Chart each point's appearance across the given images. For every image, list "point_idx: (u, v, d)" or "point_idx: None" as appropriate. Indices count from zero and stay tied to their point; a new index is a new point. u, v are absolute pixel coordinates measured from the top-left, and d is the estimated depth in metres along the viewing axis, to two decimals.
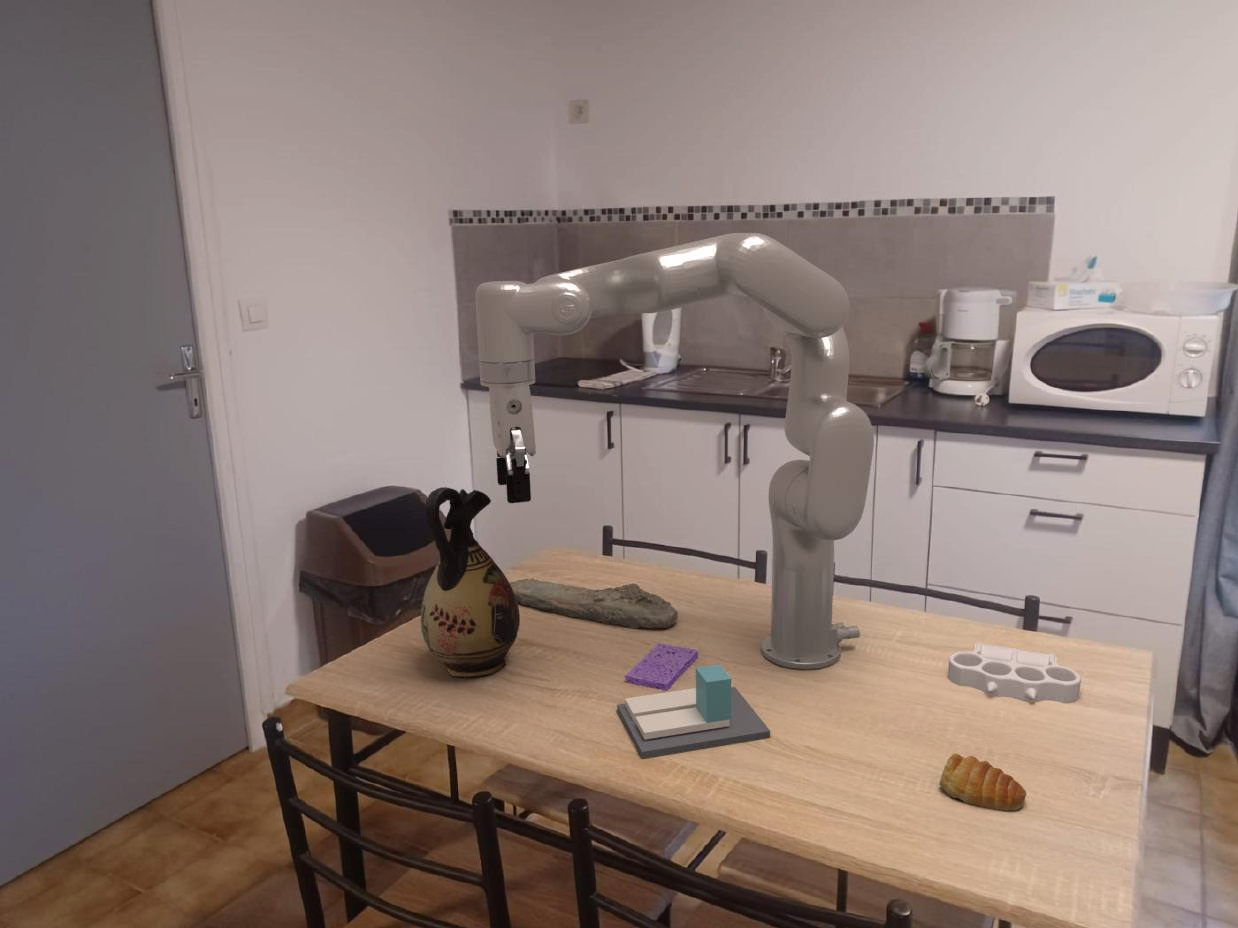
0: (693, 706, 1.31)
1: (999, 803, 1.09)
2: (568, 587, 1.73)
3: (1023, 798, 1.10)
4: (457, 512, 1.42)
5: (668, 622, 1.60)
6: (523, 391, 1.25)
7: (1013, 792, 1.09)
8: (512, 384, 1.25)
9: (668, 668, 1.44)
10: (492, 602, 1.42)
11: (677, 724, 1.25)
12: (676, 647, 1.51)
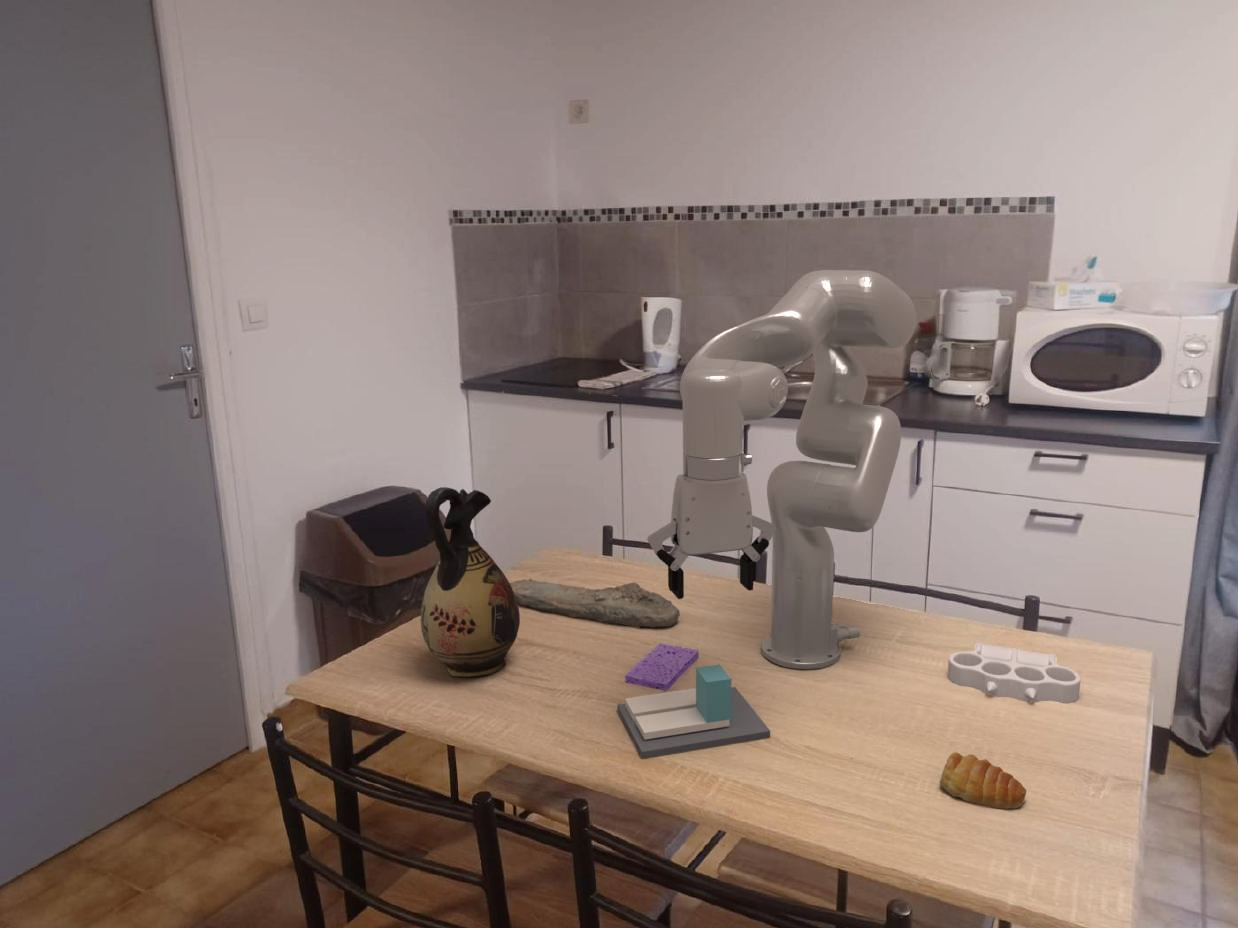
0: (693, 706, 1.31)
1: (999, 801, 1.09)
2: (567, 587, 1.73)
3: (1023, 796, 1.10)
4: (457, 512, 1.42)
5: (671, 621, 1.61)
6: None
7: (1013, 791, 1.10)
8: None
9: (668, 668, 1.44)
10: (492, 602, 1.42)
11: (677, 724, 1.25)
12: (677, 647, 1.51)
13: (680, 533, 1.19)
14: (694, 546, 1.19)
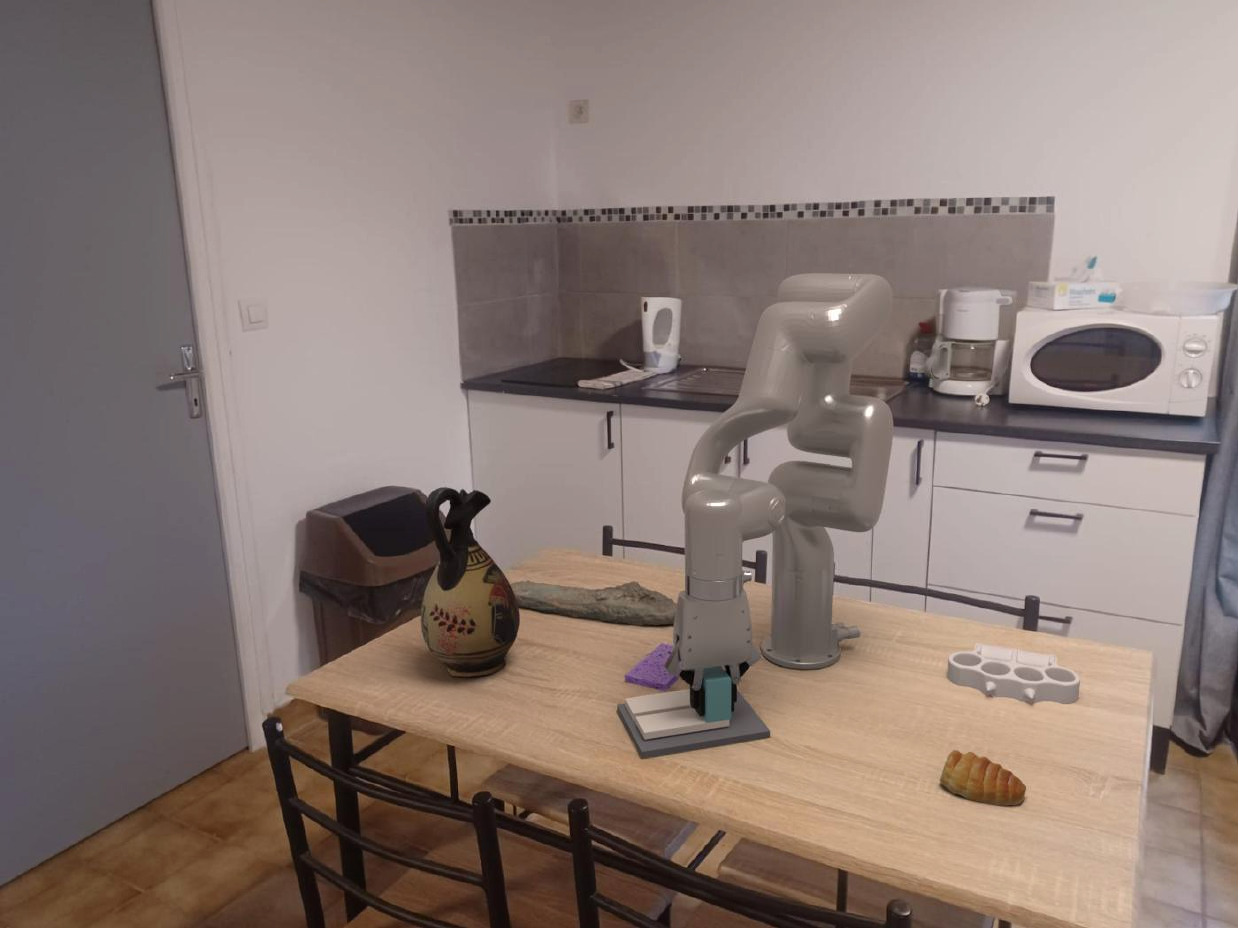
0: None
1: (1000, 798, 1.10)
2: (566, 588, 1.73)
3: (1023, 793, 1.11)
4: (457, 512, 1.42)
5: (674, 618, 1.62)
6: None
7: (1014, 787, 1.10)
8: None
9: None
10: (492, 602, 1.42)
11: (677, 724, 1.25)
12: None
13: (682, 650, 1.23)
14: (696, 662, 1.23)
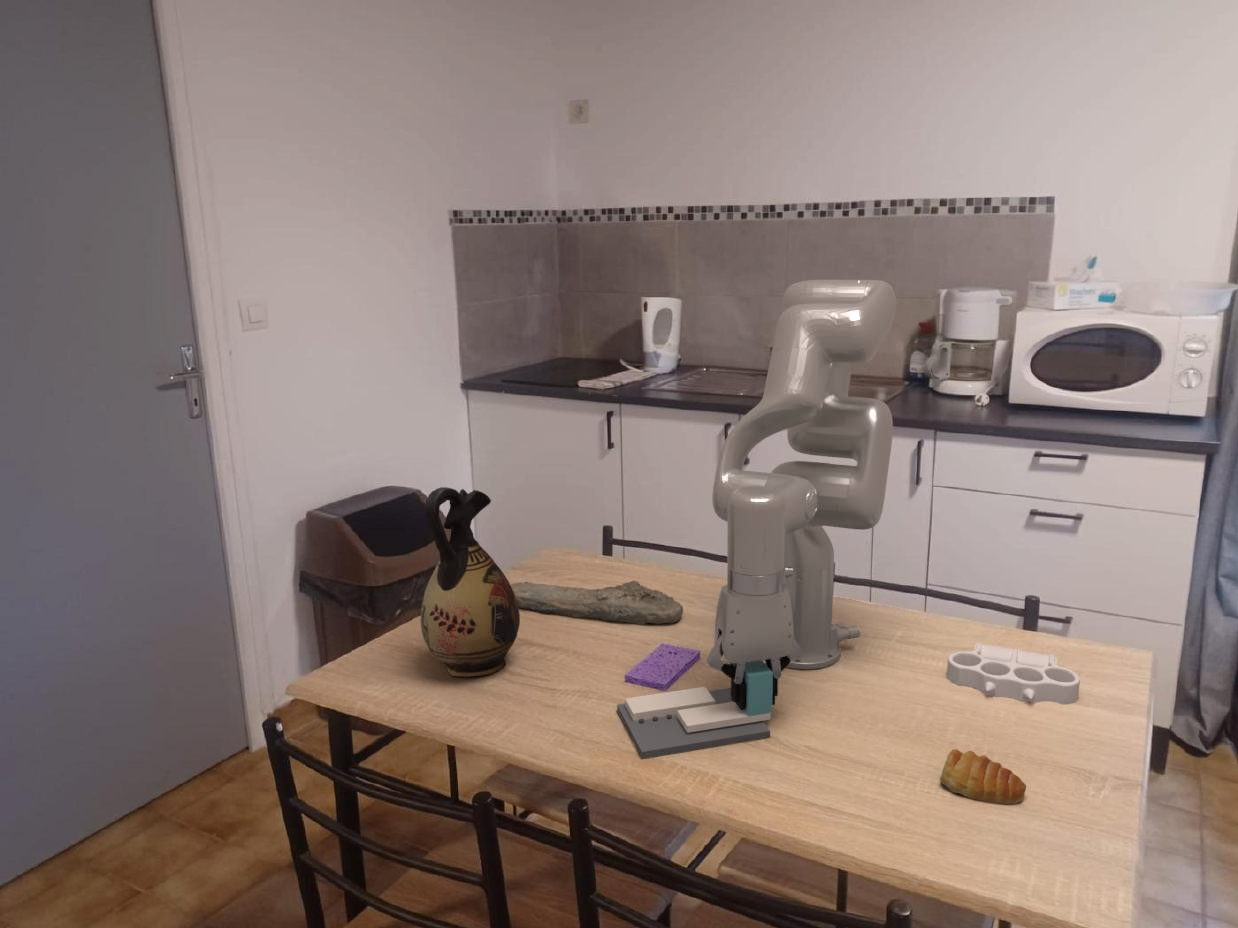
0: (693, 706, 1.31)
1: (1000, 797, 1.10)
2: (566, 588, 1.73)
3: (1023, 791, 1.11)
4: (457, 512, 1.42)
5: (676, 617, 1.62)
6: None
7: (1014, 786, 1.11)
8: None
9: (669, 669, 1.44)
10: (492, 602, 1.42)
11: (719, 717, 1.27)
12: (679, 648, 1.51)
13: (724, 644, 1.24)
14: (738, 656, 1.25)
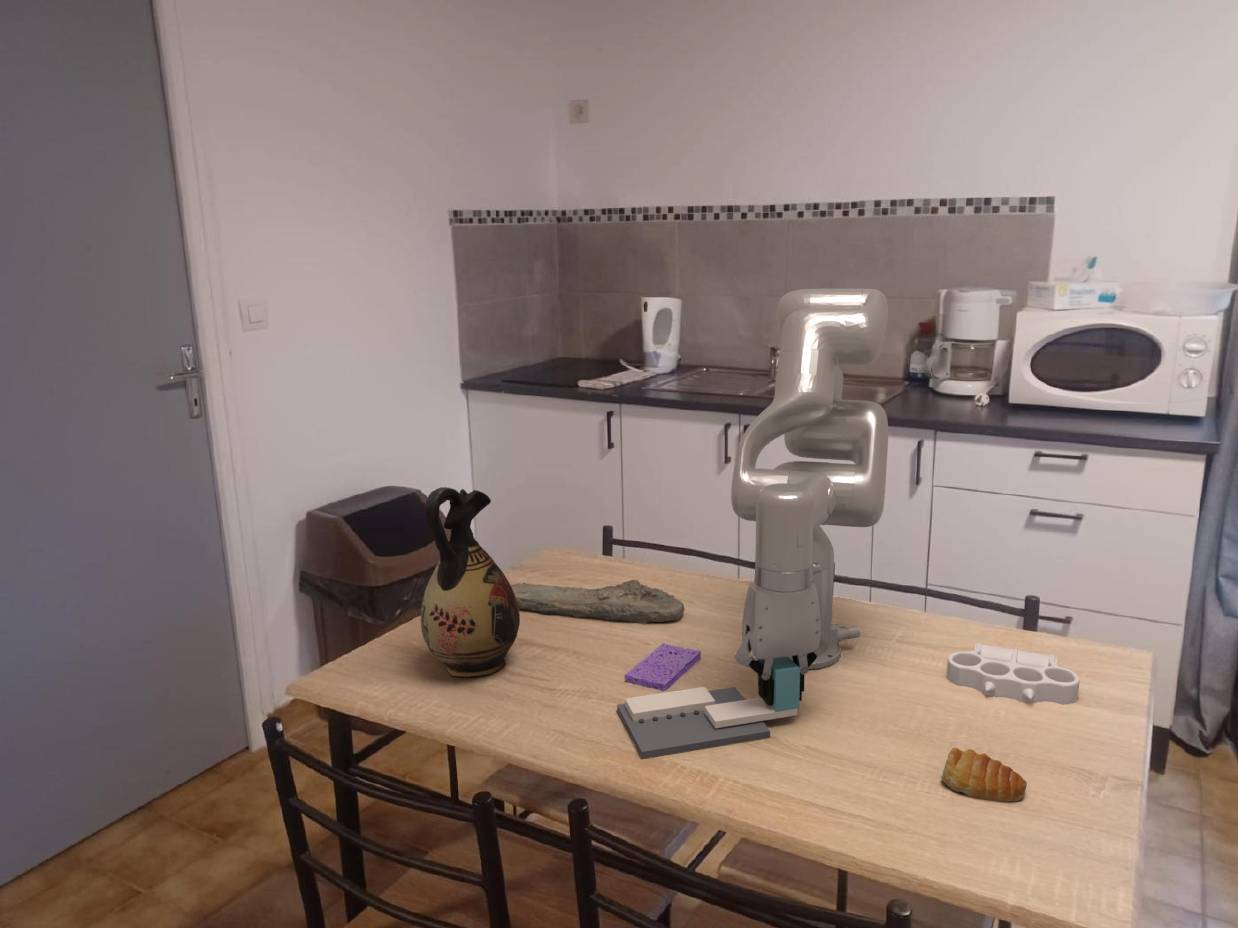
0: (693, 706, 1.31)
1: (1002, 795, 1.11)
2: (565, 588, 1.73)
3: (1024, 788, 1.11)
4: (457, 512, 1.42)
5: (678, 614, 1.63)
6: None
7: (1015, 784, 1.11)
8: None
9: (669, 669, 1.44)
10: (492, 602, 1.42)
11: (746, 713, 1.28)
12: (679, 648, 1.51)
13: (753, 640, 1.25)
14: (766, 652, 1.26)
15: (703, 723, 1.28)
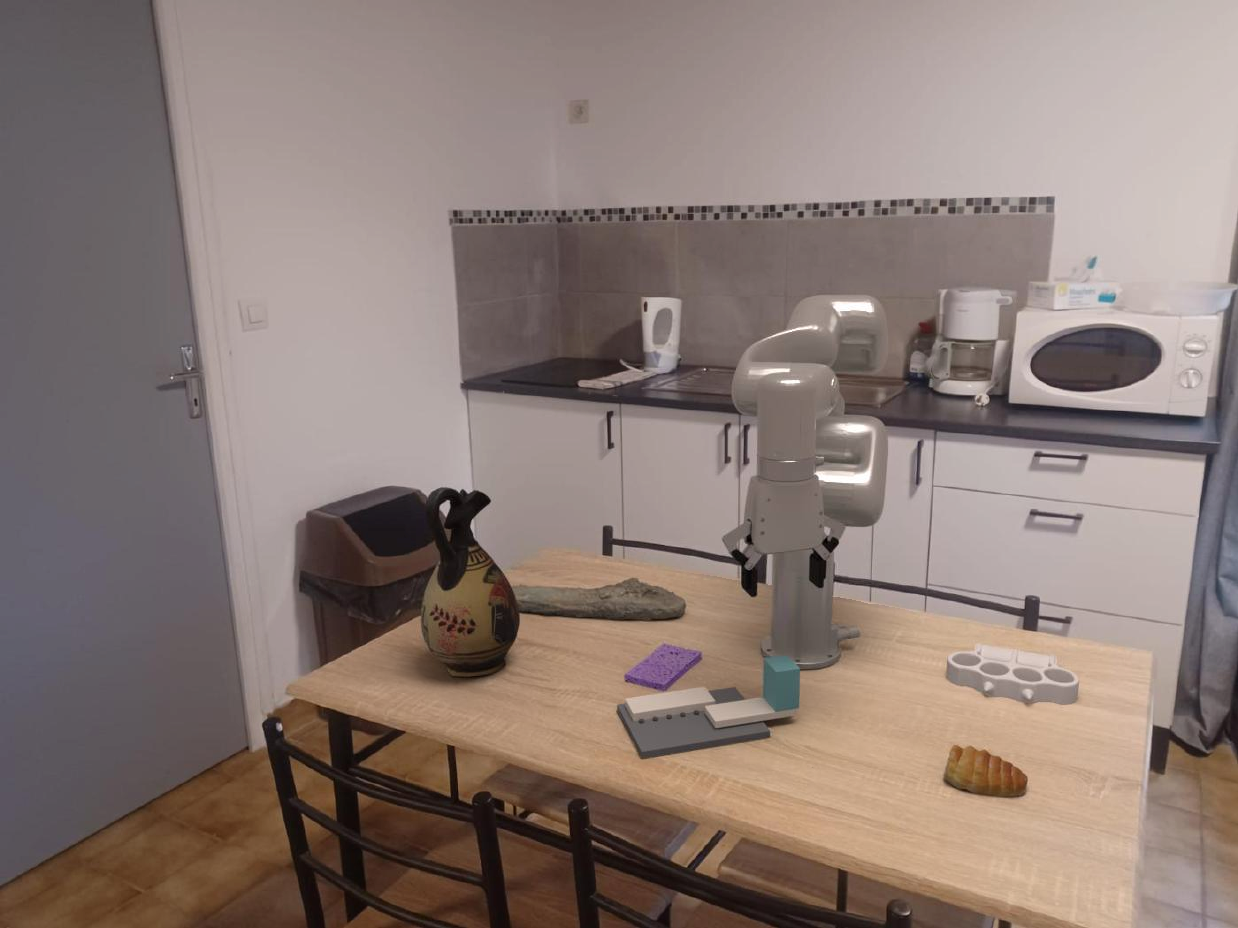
0: (693, 706, 1.31)
1: (1005, 790, 1.12)
2: (564, 589, 1.72)
3: (1026, 783, 1.12)
4: (457, 512, 1.42)
5: (681, 611, 1.65)
6: None
7: (1017, 778, 1.12)
8: None
9: (669, 669, 1.44)
10: (492, 602, 1.42)
11: (746, 713, 1.28)
12: (680, 648, 1.51)
13: (754, 534, 1.22)
14: (768, 546, 1.22)
15: (703, 723, 1.28)
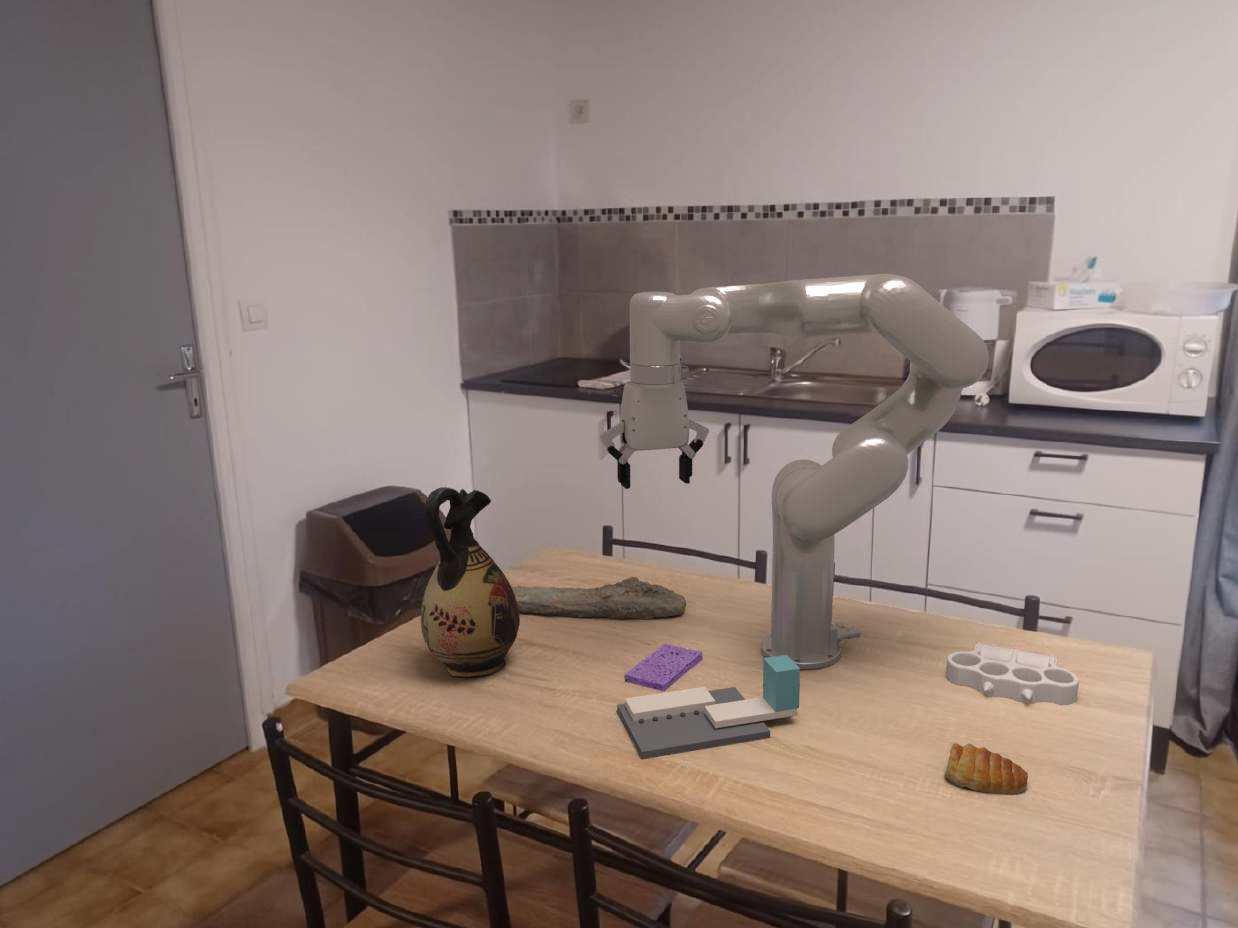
0: (693, 706, 1.31)
1: (1006, 787, 1.12)
2: (563, 589, 1.72)
3: (1026, 779, 1.13)
4: (457, 512, 1.42)
5: (682, 609, 1.66)
6: None
7: (1018, 775, 1.13)
8: None
9: (669, 669, 1.44)
10: (492, 602, 1.42)
11: (746, 713, 1.28)
12: (681, 648, 1.51)
13: (627, 431, 1.40)
14: (639, 442, 1.41)
15: (703, 723, 1.28)
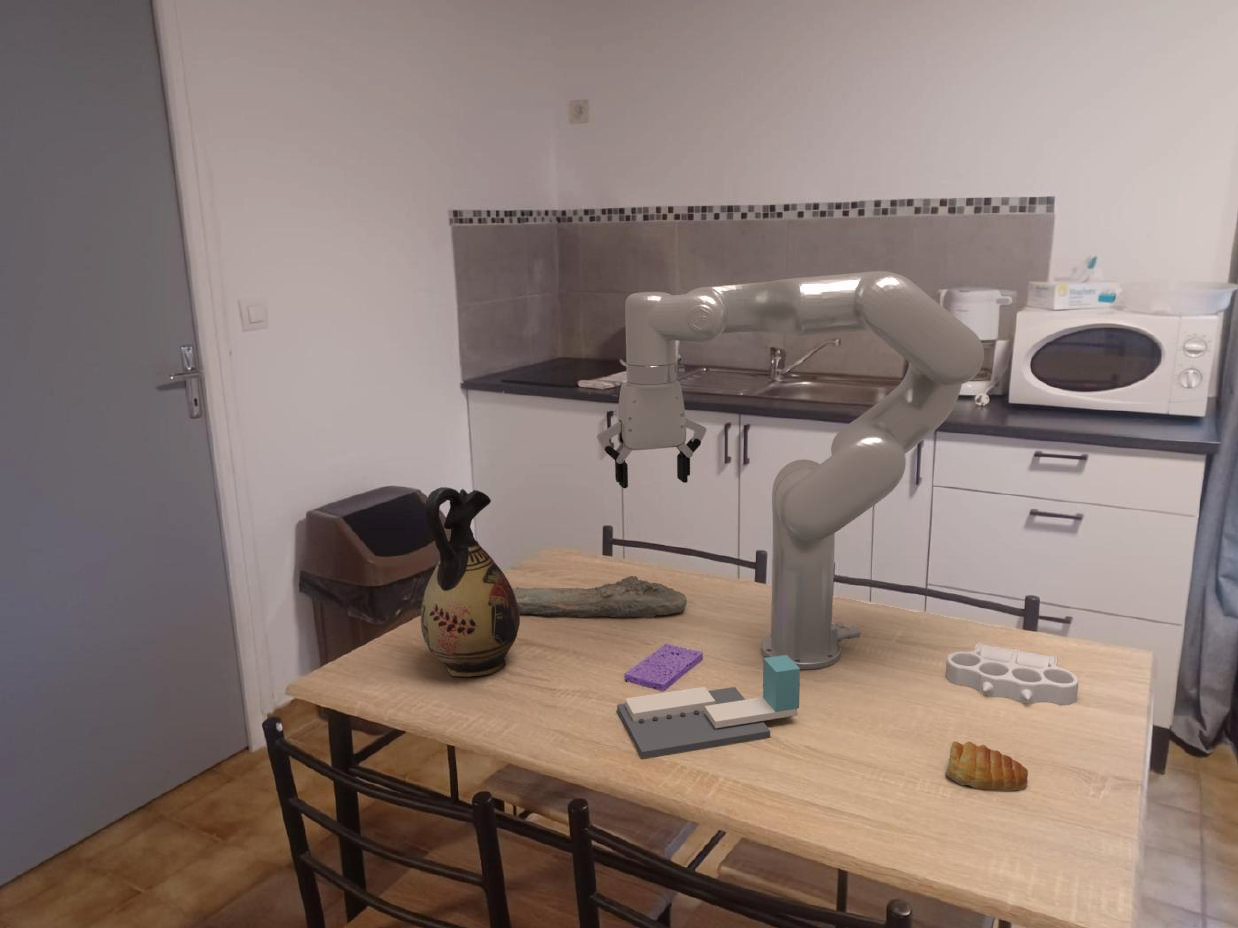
0: (693, 706, 1.31)
1: (1008, 784, 1.13)
2: (562, 590, 1.72)
3: None
4: (457, 512, 1.42)
5: (683, 606, 1.66)
6: None
7: (1018, 772, 1.13)
8: None
9: (669, 669, 1.44)
10: (492, 602, 1.42)
11: (746, 713, 1.28)
12: (681, 648, 1.50)
13: (624, 431, 1.41)
14: (636, 442, 1.42)
15: (703, 723, 1.28)
